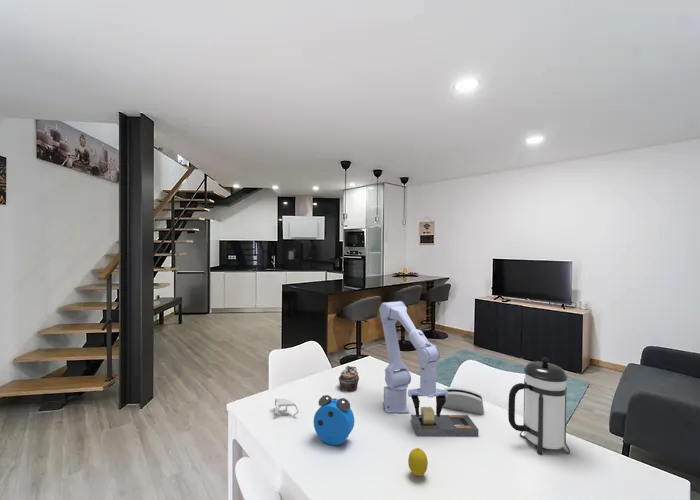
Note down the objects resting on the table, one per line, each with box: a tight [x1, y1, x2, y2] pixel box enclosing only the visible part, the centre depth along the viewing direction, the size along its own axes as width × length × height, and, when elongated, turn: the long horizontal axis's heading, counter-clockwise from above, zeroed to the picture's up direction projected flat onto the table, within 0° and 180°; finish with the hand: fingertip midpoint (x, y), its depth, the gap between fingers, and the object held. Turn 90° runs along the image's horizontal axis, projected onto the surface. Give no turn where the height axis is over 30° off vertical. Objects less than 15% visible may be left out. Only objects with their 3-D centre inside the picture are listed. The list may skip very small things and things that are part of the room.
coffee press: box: [507, 356, 571, 456], centre depth 110 cm, size 17×16×30 cm
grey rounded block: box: [443, 387, 485, 415], centre depth 134 cm, size 17×5×10 cm, turn 69°
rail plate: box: [410, 414, 479, 437], centre depth 119 cm, size 22×10×3 cm, turn 91°
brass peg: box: [420, 406, 436, 426], centre depth 119 cm, size 4×4×7 cm
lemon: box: [407, 447, 429, 477], centre depth 94 cm, size 6×6×8 cm
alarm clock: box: [313, 394, 355, 446], centre depth 110 cm, size 13×6×15 cm, turn 70°
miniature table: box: [273, 397, 300, 419], centre depth 127 cm, size 12×8×5 cm
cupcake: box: [338, 365, 360, 393], centre depth 152 cm, size 10×10×10 cm
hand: (427, 415), depth 119 cm, fingers open, 7 cm apart
